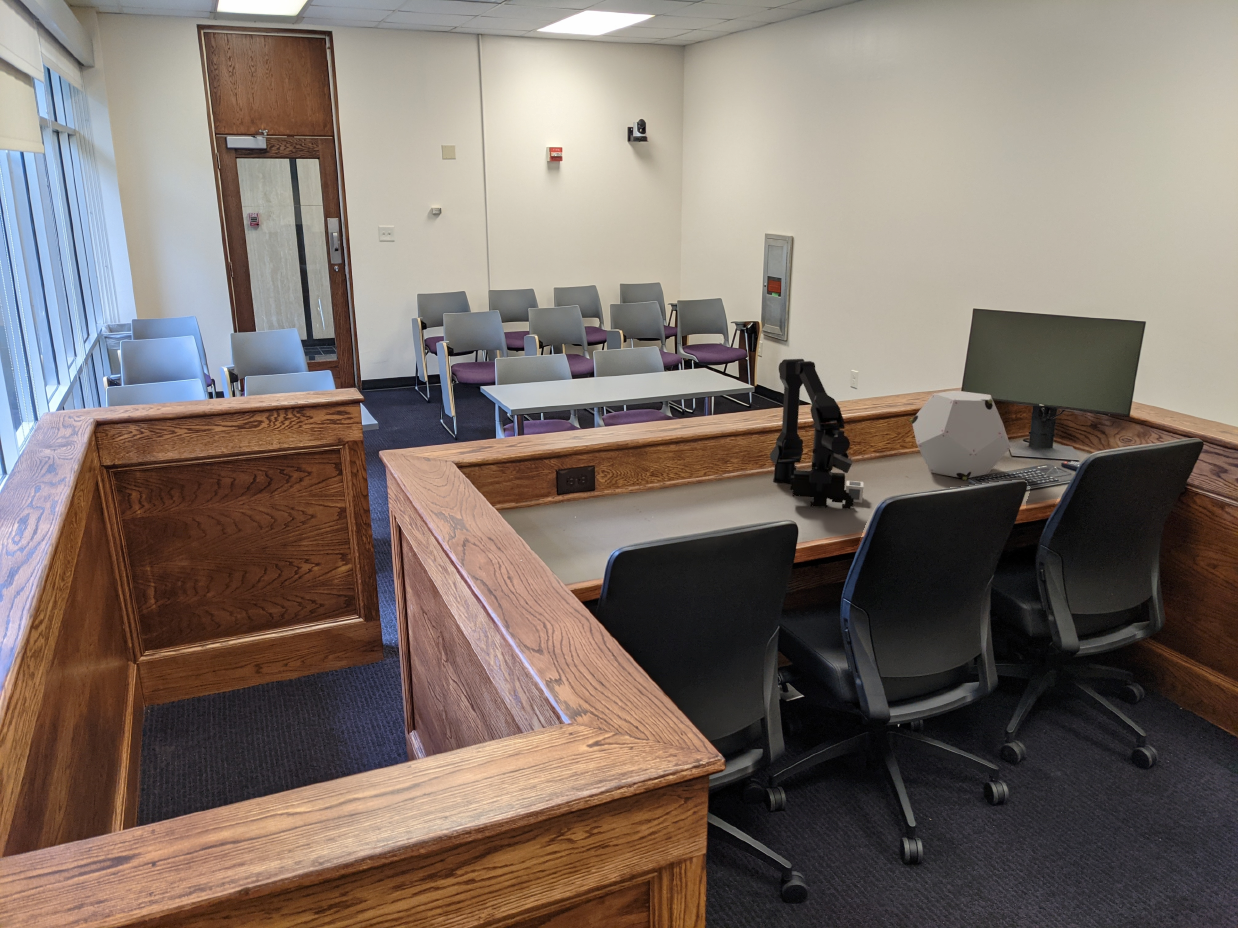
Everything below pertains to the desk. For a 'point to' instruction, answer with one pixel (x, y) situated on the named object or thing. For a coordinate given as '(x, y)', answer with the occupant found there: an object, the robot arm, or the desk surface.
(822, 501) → the security camera
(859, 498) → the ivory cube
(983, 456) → the geometric sculpture
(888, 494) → the desk surface
